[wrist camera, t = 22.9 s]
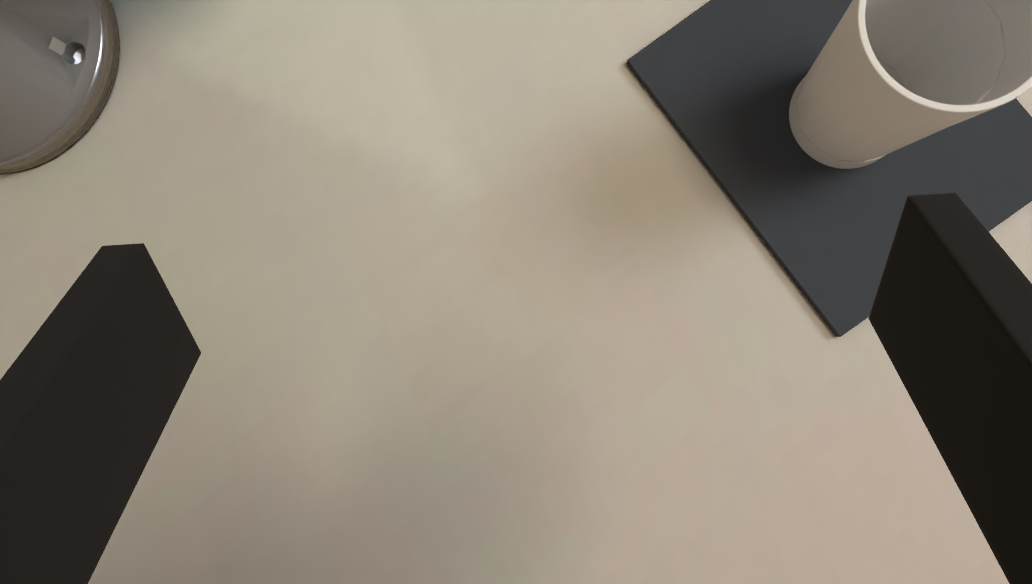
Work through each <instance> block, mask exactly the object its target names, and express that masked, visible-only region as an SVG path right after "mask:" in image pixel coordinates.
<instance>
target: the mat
mask: <svg viewBox="0 0 1032 584" xmlns="http://www.w3.org/2000/svg"><path fill="white" fill-rule="evenodd" d="M851 2H852V0H710V1H709V2H708V3H706V4H705V5H703V6H702V7H701V8H699V9H698V10H697V11H695V12H694V13H692V14H691V15H690V16H688V17H687V18H685V19H684V20H683V21H681V22H680V23H678V24H677V25H676V26H674V27H673V28H672V29H670V30H669V31H667V32H666V33H665V34H663V35H662V36H660V37H659V38H658V39H656V40H655V41H653V42H652V43H651V44H649V45H648V46H647V47H645V48H644V49H642V50H641V51H640V52H638V53H637V54H635V55H634V56H633V57H631V58H630V59H628V60H627V64H628V66H629V67H630V68H631V70H632V71H633V72H634V73H635V75H636V76H637V77H638V79H639V80H640V81H641V83H642V84H643V85H644V86H645V88H646V89H647V90H648V92H649V93H650V94H651V96H652V97H653V98H654V99H655V101H656V102H657V103H658V105H659V106H660V107H661V109H662V110H663V111H664V112H665V114H666V115H667V116H668V118H669V119H670V120H671V122H672V123H673V124H674V125H675V127H676V128H677V129H678V131H679V132H680V133H681V134H682V136H683V137H684V138H685V140H686V141H687V142H688V144H689V145H690V146H691V147H692V149H693V150H694V151H695V153H696V154H697V155H698V157H699V158H700V159H701V160H702V162H703V163H704V164H705V166H706V167H707V168H708V170H709V171H710V172H711V173H712V175H713V176H714V177H715V179H716V180H717V181H718V183H719V184H720V185H721V186H722V188H723V189H724V190H725V192H726V193H727V194H728V196H729V197H730V198H731V199H732V201H733V202H734V203H735V205H736V206H737V207H738V209H739V210H740V211H741V212H742V214H743V215H744V216H745V218H746V219H747V220H748V222H749V223H750V224H751V225H752V227H753V228H754V229H755V231H756V232H757V233H758V235H759V236H760V237H761V238H762V240H763V241H764V242H765V244H766V245H767V246H768V248H769V249H770V250H771V251H772V253H773V254H774V255H775V257H776V258H777V259H778V261H779V262H780V263H781V264H782V266H783V267H784V268H785V270H786V271H787V272H788V274H789V275H790V276H791V277H792V279H793V280H794V281H795V283H796V284H797V285H798V287H799V288H800V289H801V290H802V292H803V293H804V294H805V296H806V297H807V298H808V300H809V301H810V302H811V303H812V305H813V306H814V307H815V309H816V310H817V311H818V313H819V314H820V315H821V316H822V318H823V319H824V320H825V322H826V323H827V324H828V326H829V327H830V328H831V329H832V331H833V332H834V333H835V335H836V336H837V337H841V336H842V335H844V334H845V333H846V332H848V331H849V330H851V329H852V328H853V327H855V326H856V325H858V324H859V323H860V322H862V321H863V320H865V319H866V318H868V317H869V316H870V313H871V310H872V307H873V304H874V300H875V297H876V294H877V291H878V288H879V285H880V281H881V278H882V275H883V272H884V269H885V266H886V262H887V259H888V256H889V253H890V250H891V247H892V243H893V240H894V237H895V234H896V231H897V228H898V224H899V221H900V218H901V215H902V212H903V209H904V206H905V202H906V199H907V196H912V195H928V194H944V193H956V194H957V195H958V196H959V197H960V198H961V200H962V201H963V202H964V203H965V204H966V206H967V207H968V208H969V209H970V210H971V212H972V213H973V214H974V215H975V216H976V218H977V219H978V220H979V221H980V222H981V224H982V225H983V226H984V227H985V228H986V230H987V231H988V232H989V231H990V230H991V229H993V228H994V227H996V226H997V225H998V224H1000V223H1001V222H1003V221H1004V220H1006V219H1007V218H1008V217H1010V216H1011V215H1013V214H1014V213H1015V212H1017V211H1018V210H1020V209H1021V208H1022V207H1024V206H1025V205H1027V204H1028V203H1029V202H1031V201H1032V117H1031V116H1030V115H1029V113H1028V112H1027V111H1026V110H1025V109H1024V107H1023V106H1022V105H1021V104H1020V103H1019V102H1018V100H1017V99H1016V98H1015V99H1013V100H1012V101H1010V102H1008V103H1005V104H1003V105H1001V106H998V107H996V108H994V109H991V110H989V111H986V112H984V113H982V114H979V115H977V116H974V117H972V118H970V119H967V120H965V121H962V122H960V123H957V124H955V125H952V126H949V127H947V128H945V129H943V130H940V131H938V132H936V133H934V134H931V135H929V136H927V137H925V138H922V139H920V140H918V141H916V142H913V143H911V144H909V145H907V146H904V147H902V148H900V149H898V150H895V151H893V152H891V153H889V154H887V155H885V156H883V157H882V158H880V159H879V160H877V161H875V162H873V163H871V164H869V165H866V166H863V167H859V168H853V169H841V168H834V167H830V166H827V165H824V164H822V163H820V162H818V161H816V160H815V159H813V158H812V157H810V156H809V155H808V154H807V153H806V152H805V151H804V150H803V149H802V148H801V147H800V146H799V144H798V143H797V141H796V139H795V137H794V135H793V133H792V130H791V127H790V121H789V107H790V102H791V98H792V96H793V93H794V91H795V89H796V88H797V86H798V85H799V83H800V82H801V81H802V80H803V78H804V77H805V76H806V75H807V73H808V71H809V70H810V68H811V67H812V65H813V63H814V62H815V60H816V59H817V57H818V55H819V54H820V52H821V51H822V49H823V47H824V46H825V44H826V43H827V41H828V39H829V38H830V36H831V35H832V33H833V31H834V30H835V28H836V27H837V25H838V23H839V22H840V20H841V19H842V17H843V15H844V14H845V12H846V11H847V9H848V7H849V6H850V4H851Z"/></svg>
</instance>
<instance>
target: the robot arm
mask: <svg viewBox="0 0 1032 584" xmlns="http://www.w3.org/2000/svg"><path fill="white" fill-rule="evenodd" d="M118 61H119V33H118V25H117V21H116V17H115V13H114V10H113V7H112V5H111V2H110V0H0V174H2V173H12V172H17V171H22V170H26V169H29V168H32V167H35V166H37V165H40V164H42V163H45V162H47V161H49V160H50V159H52V158H54V157H56V156H58V155H59V154H61V153H62V152H64V151H65V150H66V149H68V148H69V147H70V146H71V145H73V144H74V143H75V142H76V141H77V140H78V139H79V138H80V137H81V136H82V135H83V134H84V133H85V132H86V131H87V130H88V129H89V128H90V126H91V125H92V124H93V122H94V121H95V120H96V118H97V117H98V115H99V114H100V112H101V110H102V109H103V107H104V105H105V103H106V101H107V99H108V97H109V95H110V92H111V89H112V87H113V84H114V80H115V77H116V73H117V67H118ZM869 320H870V322H871V324H872V326H873V327H874V329H875V331H876V333H877V335H878V337H879V339H880V341H881V343H882V344H883V346H884V348H885V350H886V352H887V354H888V356H889V358H890V359H891V361H892V363H893V365H894V367H895V369H896V371H897V373H898V375H899V376H900V378H901V380H902V382H903V384H904V386H905V388H906V390H907V391H908V393H909V395H910V397H911V399H912V401H913V403H914V405H915V407H916V408H917V410H918V412H919V414H920V416H921V418H922V420H923V422H924V423H925V425H926V427H927V429H928V431H929V433H930V435H931V437H932V439H933V440H934V442H935V444H936V446H937V448H938V450H939V452H940V454H941V455H942V457H943V459H944V461H945V463H946V465H947V467H948V469H949V470H950V472H951V474H952V476H953V478H954V480H955V482H956V484H957V486H958V487H959V489H960V491H961V493H962V495H963V497H964V499H965V501H966V502H967V504H968V506H969V508H970V510H971V512H972V514H973V516H974V518H975V519H976V521H977V523H978V525H979V527H980V529H981V531H982V533H983V534H984V536H985V538H986V540H987V542H988V544H989V546H990V548H991V550H992V551H993V553H994V555H995V557H996V559H997V561H998V563H999V565H1000V566H1001V568H1002V570H1003V572H1004V574H1005V576H1006V578H1007V580H1008V582H1009V583H1010V584H1032V284H1031V283H1030V281H1029V280H1028V279H1027V278H1026V277H1025V275H1024V274H1023V273H1022V272H1021V271H1020V269H1019V268H1018V267H1017V266H1016V265H1015V263H1014V262H1013V261H1012V260H1011V259H1010V257H1009V256H1008V255H1007V254H1006V253H1005V251H1004V250H1003V249H1002V248H1001V247H1000V245H999V244H998V243H997V242H996V241H995V239H994V238H993V237H992V236H991V235H990V233H989V232H988V231H987V230H986V228H985V227H984V226H983V225H982V224H981V222H980V221H979V220H978V219H977V218H976V216H975V215H974V214H973V213H972V212H971V210H970V209H969V208H968V207H967V206H966V204H965V203H964V202H963V201H962V200H961V198H960V197H959V196H958V195H957V194H956V193H944V194H928V195H912V196H907V199H906V202H905V206H904V209H903V212H902V215H901V218H900V221H899V224H898V228H897V231H896V234H895V237H894V240H893V243H892V247H891V250H890V253H889V256H888V259H887V262H886V266H885V269H884V272H883V275H882V278H881V281H880V285H879V288H878V291H877V294H876V297H875V300H874V304H873V307H872V310H871V313H870V316H869ZM200 354H201V352H200V350H199V348H198V346H197V344H196V342H195V340H194V338H193V336H192V334H191V333H190V331H189V329H188V327H187V325H186V323H185V321H184V319H183V317H182V315H181V314H180V312H179V310H178V308H177V306H176V304H175V302H174V300H173V298H172V296H171V295H170V293H169V291H168V289H167V287H166V285H165V283H164V281H163V279H162V277H161V276H160V274H159V272H158V270H157V268H156V266H155V264H154V262H153V260H152V258H151V257H150V255H149V253H148V251H147V249H146V247H145V245H144V243H143V244H127V245H111V246H102V247H101V248H100V250H99V251H98V252H97V254H96V255H95V256H94V258H93V259H92V260H91V262H90V263H89V264H88V266H87V267H86V268H85V270H84V271H83V272H82V273H81V275H80V276H79V277H78V279H77V280H76V281H75V283H74V284H73V285H72V287H71V288H70V289H69V291H68V292H67V293H66V294H65V296H64V297H63V298H62V300H61V301H60V302H59V304H58V305H57V306H56V308H55V309H54V310H53V312H52V313H51V314H50V316H49V317H48V318H47V319H46V321H45V322H44V323H43V325H42V326H41V327H40V329H39V330H38V331H37V333H36V334H35V335H34V337H33V338H32V339H31V341H30V342H29V343H28V344H27V346H26V347H25V348H24V350H23V351H22V352H21V354H20V355H19V356H18V358H17V359H16V360H15V362H14V363H13V364H12V365H11V367H10V368H9V369H8V371H7V372H6V373H5V375H4V376H3V377H2V379H1V380H0V584H88V582H89V580H90V578H91V576H92V574H93V572H94V570H95V568H96V566H97V564H98V562H99V559H100V557H101V555H102V553H103V551H104V549H105V547H106V545H107V543H108V541H109V539H110V537H111V535H112V533H113V531H114V529H115V527H116V525H117V523H118V521H119V519H120V517H121V515H122V513H123V511H124V509H125V507H126V505H127V503H128V501H129V498H130V496H131V494H132V492H133V490H134V488H135V486H136V484H137V482H138V480H139V478H140V476H141V474H142V472H143V470H144V468H145V466H146V464H147V462H148V460H149V458H150V456H151V454H152V452H153V450H154V448H155V446H156V444H157V442H158V440H159V438H160V435H161V433H162V431H163V429H164V427H165V425H166V423H167V421H168V419H169V417H170V415H171V413H172V411H173V409H174V407H175V405H176V403H177V401H178V399H179V397H180V395H181V393H182V391H183V389H184V387H185V385H186V383H187V381H188V379H189V377H190V374H191V372H192V370H193V368H194V366H195V364H196V362H197V360H198V358H199V356H200Z"/></svg>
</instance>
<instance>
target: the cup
mask: <svg viewBox="0 0 1032 584" xmlns="http://www.w3.org/2000/svg"><path fill="white" fill-rule="evenodd" d="M1031 87H1032V0H852V2H851V4H850V6H849V7H848V9H847V11H846V12H845V14H844V15H843V17H842V19H841V20H840V22H839V23H838V25H837V27H836V28H835V30H834V31H833V33H832V35H831V36H830V38H829V39H828V41H827V43H826V44H825V46H824V47H823V49H822V51H821V52H820V54H819V55H818V57H817V59H816V60H815V62H814V63H813V65H812V67H811V68H810V70H809V71H808V73H807V75H806V76H805V77H804V78H803V80H802V81H801V82H800V83H799V85H798V86H797V88H796V89H795V91H794V93H793V96H792V98H791V102H790V107H789V121H790V127H791V130H792V133H793V135H794V137H795V139H796V141H797V143H798V144H799V146H800V147H801V148H802V149H803V150H804V151H805V152H806V153H807V154H808V155H809V156H810V157H812V158H813V159H815V160H816V161H818V162H820V163H822V164H824V165H827V166H830V167H834V168H841V169H853V168H859V167H863V166H866V165H869V164H871V163H873V162H875V161H877V160H879V159H880V158H882V157H883V156H885V155H887V154H889V153H891V152H893V151H895V150H898V149H900V148H902V147H904V146H907V145H909V144H911V143H913V142H916V141H918V140H920V139H922V138H925V137H927V136H929V135H931V134H934V133H936V132H938V131H940V130H943V129H945V128H947V127H949V126H952V125H955V124H957V123H960V122H962V121H965V120H967V119H970V118H972V117H974V116H977V115H979V114H982V113H984V112H986V111H989V110H991V109H994V108H996V107H998V106H1001V105H1003V104H1005V103H1008V102H1010V101H1012V100H1013V99H1015V98H1017V97H1019V96H1020V95H1022V94H1023V93H1024V92H1026V91H1027V90H1028V89H1029V88H1031Z"/></svg>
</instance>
